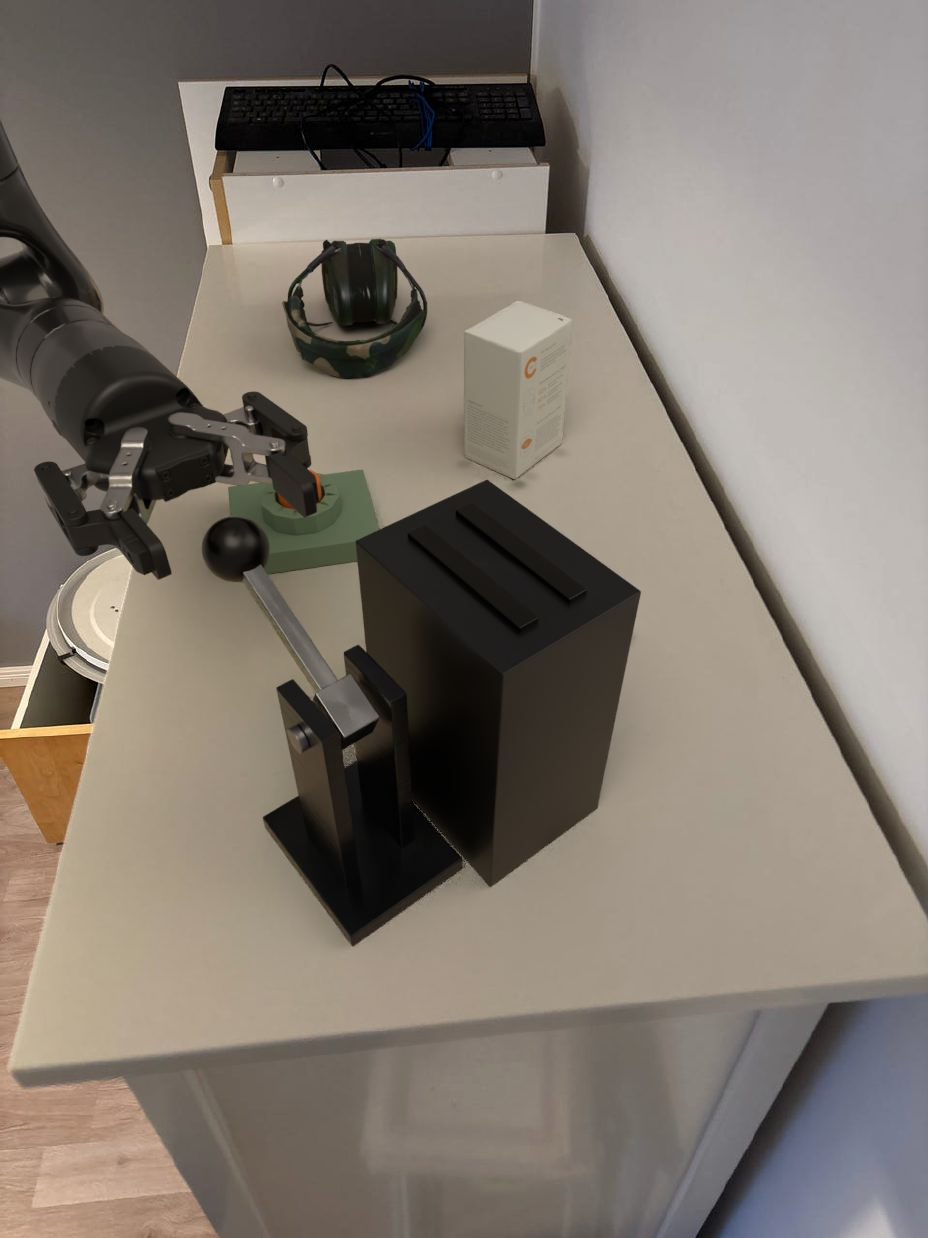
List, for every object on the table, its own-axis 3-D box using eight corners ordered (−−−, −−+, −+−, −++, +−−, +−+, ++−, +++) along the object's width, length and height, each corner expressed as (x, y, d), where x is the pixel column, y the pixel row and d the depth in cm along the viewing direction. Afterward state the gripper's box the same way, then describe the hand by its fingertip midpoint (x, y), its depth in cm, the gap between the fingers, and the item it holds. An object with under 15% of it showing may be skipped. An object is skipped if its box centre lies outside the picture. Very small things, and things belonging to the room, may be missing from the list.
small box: (511, 422, 90) (517, 297, 81) (563, 444, 87) (576, 318, 78) (461, 457, 85) (462, 329, 76) (514, 481, 83) (521, 352, 74)
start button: (280, 513, 73) (277, 496, 72) (276, 487, 76) (274, 470, 74) (324, 507, 74) (322, 490, 72) (319, 482, 76) (317, 465, 75)
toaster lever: (189, 553, 50) (188, 519, 47) (247, 528, 51) (250, 493, 48) (324, 763, 46) (333, 741, 43) (381, 730, 48) (394, 706, 45)
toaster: (376, 759, 60) (354, 535, 46) (479, 696, 64) (487, 473, 50) (490, 887, 53) (503, 669, 40) (597, 808, 57) (643, 585, 44)
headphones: (268, 258, 104) (272, 365, 92) (343, 175, 98) (357, 278, 86) (353, 323, 113) (367, 428, 101) (427, 251, 107) (451, 353, 95)
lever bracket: (264, 827, 56) (222, 668, 46) (370, 763, 60) (353, 602, 49) (352, 947, 50) (326, 797, 40) (463, 869, 54) (465, 712, 44)
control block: (238, 578, 73) (229, 540, 70) (232, 506, 80) (224, 469, 77) (383, 557, 75) (380, 520, 72) (364, 488, 82) (361, 452, 79)
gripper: (-26, 382, 49) (85, 526, 40) (208, 313, 56) (350, 424, 47) (19, 492, 55) (127, 642, 46) (229, 418, 61) (359, 536, 52)
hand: (239, 531), depth 46 cm, fingers open, 8 cm apart
